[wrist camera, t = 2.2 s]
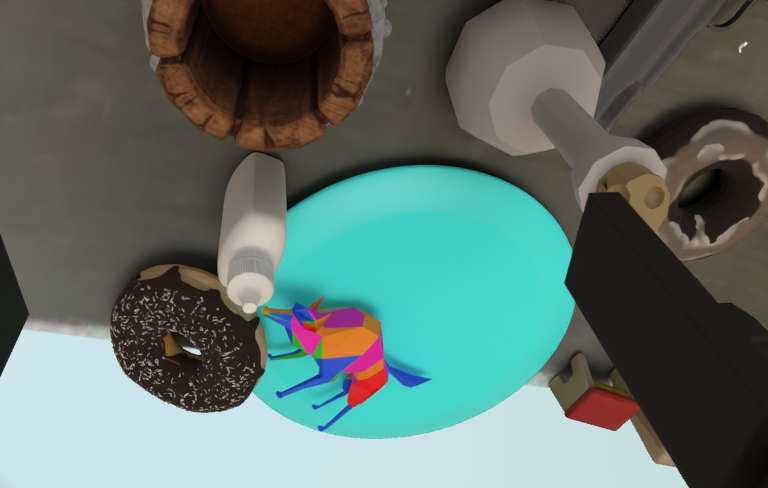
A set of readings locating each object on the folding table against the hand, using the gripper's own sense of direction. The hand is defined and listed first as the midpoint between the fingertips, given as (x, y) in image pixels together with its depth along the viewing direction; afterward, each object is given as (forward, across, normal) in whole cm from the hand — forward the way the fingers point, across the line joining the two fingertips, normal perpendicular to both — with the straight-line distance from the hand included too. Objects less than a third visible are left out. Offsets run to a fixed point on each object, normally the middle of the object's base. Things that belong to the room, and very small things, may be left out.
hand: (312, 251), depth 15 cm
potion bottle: (+25, +13, -4) cm, 28 cm away
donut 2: (+25, +28, -12) cm, 40 cm away
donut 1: (+24, -7, -23) cm, 33 cm away
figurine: (+19, -1, -26) cm, 33 cm away
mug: (+26, -1, 0) cm, 26 cm away
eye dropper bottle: (+25, -2, -12) cm, 28 cm away
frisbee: (+24, +8, -24) cm, 35 cm away
